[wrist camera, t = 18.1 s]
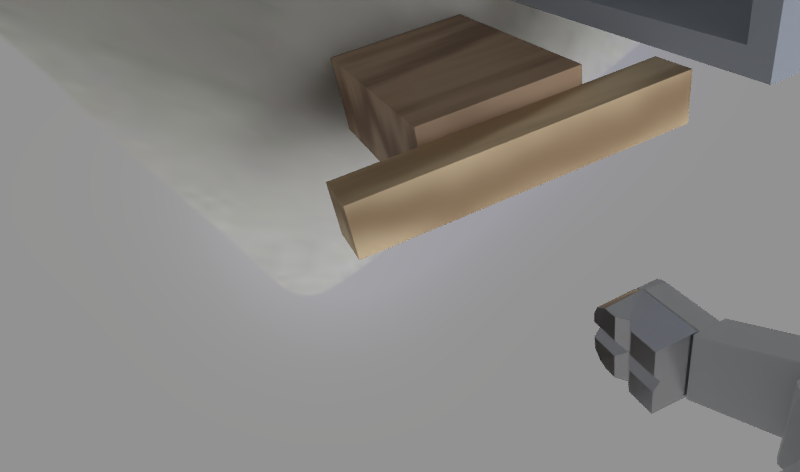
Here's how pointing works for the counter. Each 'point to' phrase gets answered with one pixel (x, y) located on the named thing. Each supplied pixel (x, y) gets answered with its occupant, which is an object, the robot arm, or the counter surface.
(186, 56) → the counter surface
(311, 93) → the counter surface
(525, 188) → the oak slat
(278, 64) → the counter surface
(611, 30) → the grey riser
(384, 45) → the walnut block
